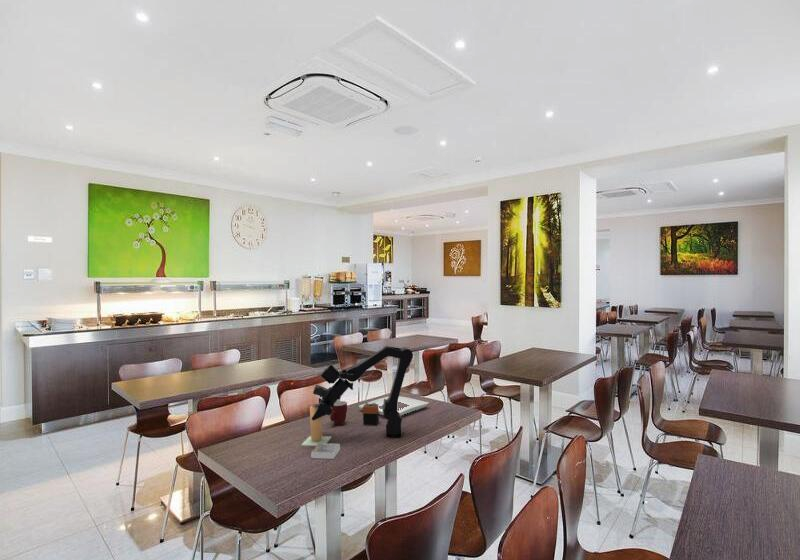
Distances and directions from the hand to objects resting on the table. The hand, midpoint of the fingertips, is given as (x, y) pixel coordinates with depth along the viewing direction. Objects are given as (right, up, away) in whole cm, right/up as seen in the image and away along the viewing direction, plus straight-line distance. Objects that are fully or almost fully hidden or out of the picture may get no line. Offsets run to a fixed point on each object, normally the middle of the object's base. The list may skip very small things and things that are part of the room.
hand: (312, 417), depth 187 cm
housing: (+8, -10, -14) cm, 19 cm away
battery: (+24, -10, +21) cm, 33 cm away
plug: (+2, -9, 0) cm, 9 cm away
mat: (+2, -11, 0) cm, 11 cm away
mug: (+8, -10, +21) cm, 25 cm away
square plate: (+35, -10, +42) cm, 55 cm away
